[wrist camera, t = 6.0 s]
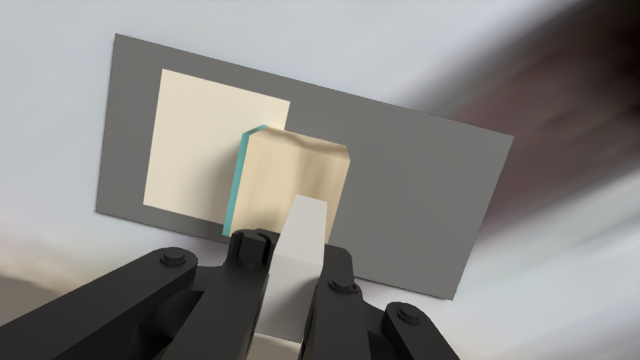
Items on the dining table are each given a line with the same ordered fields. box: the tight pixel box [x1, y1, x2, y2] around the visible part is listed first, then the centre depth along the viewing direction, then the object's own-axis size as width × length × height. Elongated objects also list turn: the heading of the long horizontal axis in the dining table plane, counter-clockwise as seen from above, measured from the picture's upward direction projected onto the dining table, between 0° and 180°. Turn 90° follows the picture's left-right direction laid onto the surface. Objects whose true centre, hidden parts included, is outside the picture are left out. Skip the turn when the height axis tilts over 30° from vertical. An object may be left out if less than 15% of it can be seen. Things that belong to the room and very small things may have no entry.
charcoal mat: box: [96, 33, 514, 301], centre depth 26 cm, size 28×13×1 cm, turn 76°
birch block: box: [222, 125, 350, 244], centre depth 23 cm, size 6×6×6 cm
